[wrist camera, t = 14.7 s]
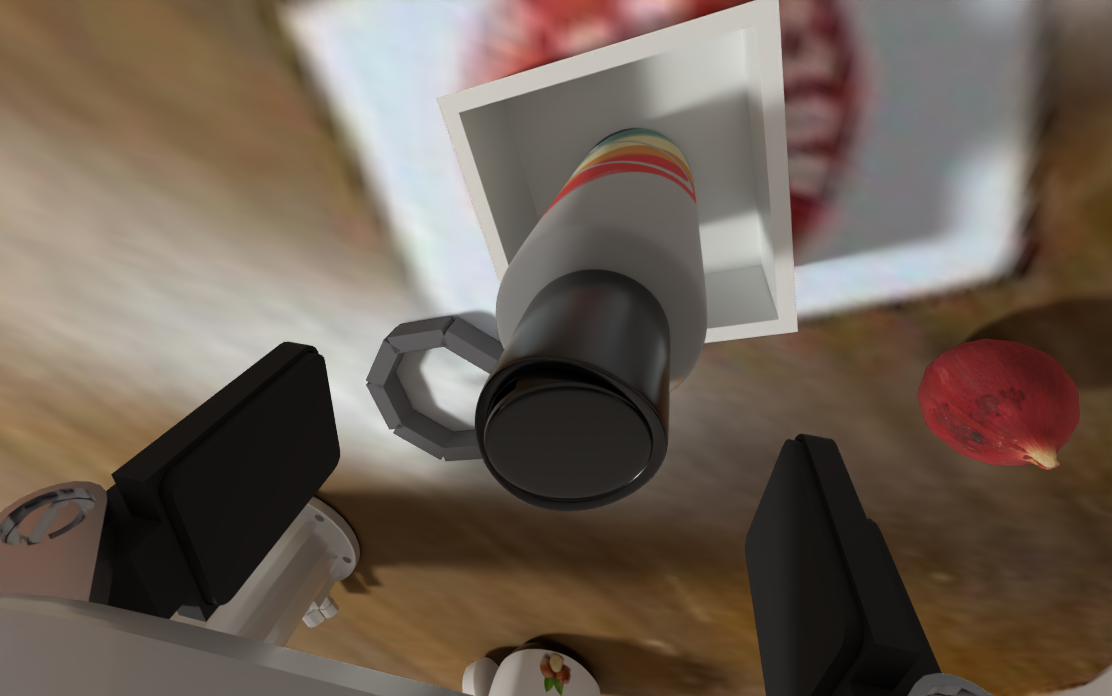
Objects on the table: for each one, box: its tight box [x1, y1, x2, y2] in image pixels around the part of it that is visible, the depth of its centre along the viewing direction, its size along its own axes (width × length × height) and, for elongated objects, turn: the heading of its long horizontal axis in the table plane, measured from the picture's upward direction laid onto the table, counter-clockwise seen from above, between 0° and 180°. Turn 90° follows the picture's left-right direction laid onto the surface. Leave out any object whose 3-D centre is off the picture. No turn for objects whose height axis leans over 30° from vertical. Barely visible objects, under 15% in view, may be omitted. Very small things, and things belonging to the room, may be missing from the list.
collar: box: [366, 316, 504, 461], centre depth 36 cm, size 10×10×2 cm
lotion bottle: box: [475, 128, 708, 511], centre depth 18 cm, size 6×6×20 cm
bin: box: [437, 0, 798, 343], centre depth 24 cm, size 12×12×7 cm
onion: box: [917, 339, 1080, 470], centre depth 25 cm, size 6×6×8 cm
